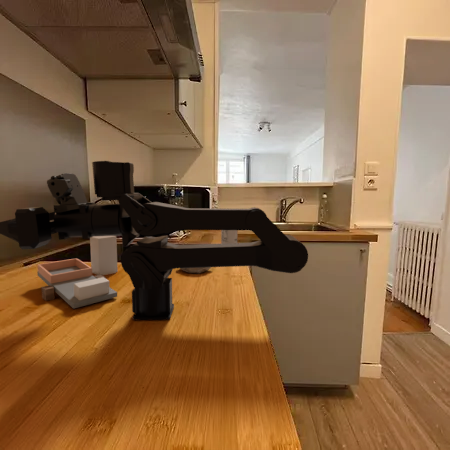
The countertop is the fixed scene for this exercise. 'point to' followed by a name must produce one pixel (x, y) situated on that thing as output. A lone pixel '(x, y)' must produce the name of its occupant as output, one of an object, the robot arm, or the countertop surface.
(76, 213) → the robot arm
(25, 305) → the countertop surface
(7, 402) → the countertop surface
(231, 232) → the energy drink can
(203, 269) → the fossilized seashell
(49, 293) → the pivot stand
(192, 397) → the countertop surface
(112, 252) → the grey block
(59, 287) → the board
